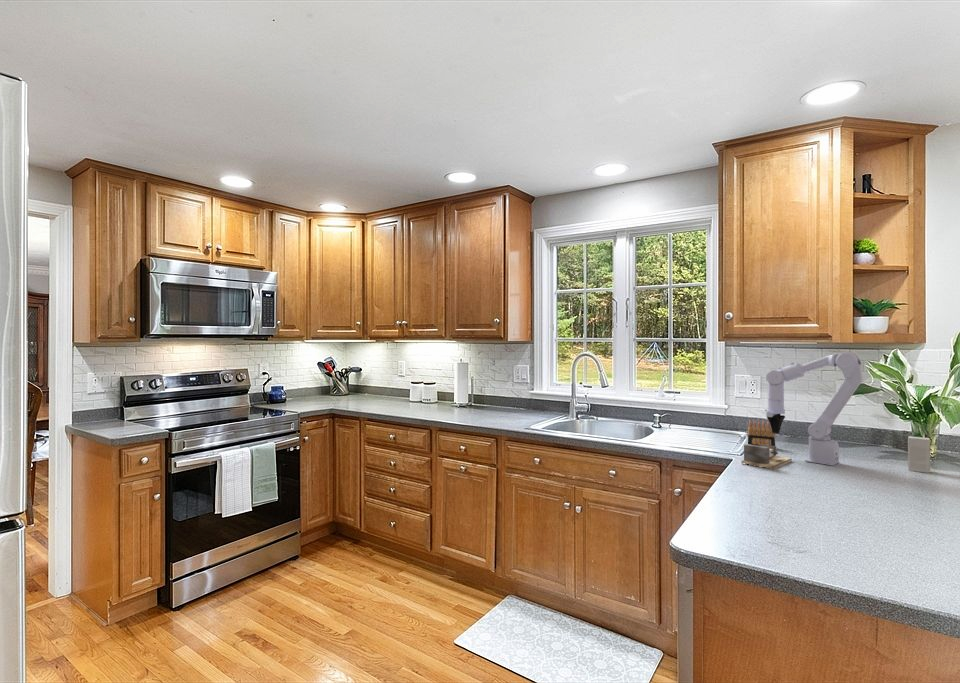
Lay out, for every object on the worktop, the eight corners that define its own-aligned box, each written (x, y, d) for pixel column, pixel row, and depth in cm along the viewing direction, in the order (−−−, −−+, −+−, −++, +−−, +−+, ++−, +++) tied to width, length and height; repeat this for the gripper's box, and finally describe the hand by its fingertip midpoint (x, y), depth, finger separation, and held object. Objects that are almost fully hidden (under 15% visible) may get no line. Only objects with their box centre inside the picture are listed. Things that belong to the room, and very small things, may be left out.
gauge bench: (791, 461, 202) (791, 442, 202) (772, 469, 190) (772, 449, 190) (761, 456, 210) (761, 438, 210) (741, 463, 198) (741, 445, 198)
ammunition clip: (747, 446, 231) (747, 419, 231) (748, 445, 232) (748, 418, 232) (775, 449, 225) (775, 421, 225) (775, 448, 226) (775, 420, 226)
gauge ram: (780, 456, 200) (780, 447, 200) (773, 459, 195) (773, 449, 195) (760, 452, 206) (760, 444, 206) (752, 455, 201) (752, 446, 201)
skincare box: (930, 471, 186) (930, 437, 186) (929, 473, 183) (929, 439, 183) (908, 468, 190) (908, 435, 190) (907, 470, 187) (907, 437, 187)
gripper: (771, 397, 219) (771, 429, 219) (758, 400, 209) (758, 433, 209) (790, 398, 213) (790, 431, 214) (777, 401, 204) (777, 436, 204)
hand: (775, 432), depth 211 cm, fingers closed
